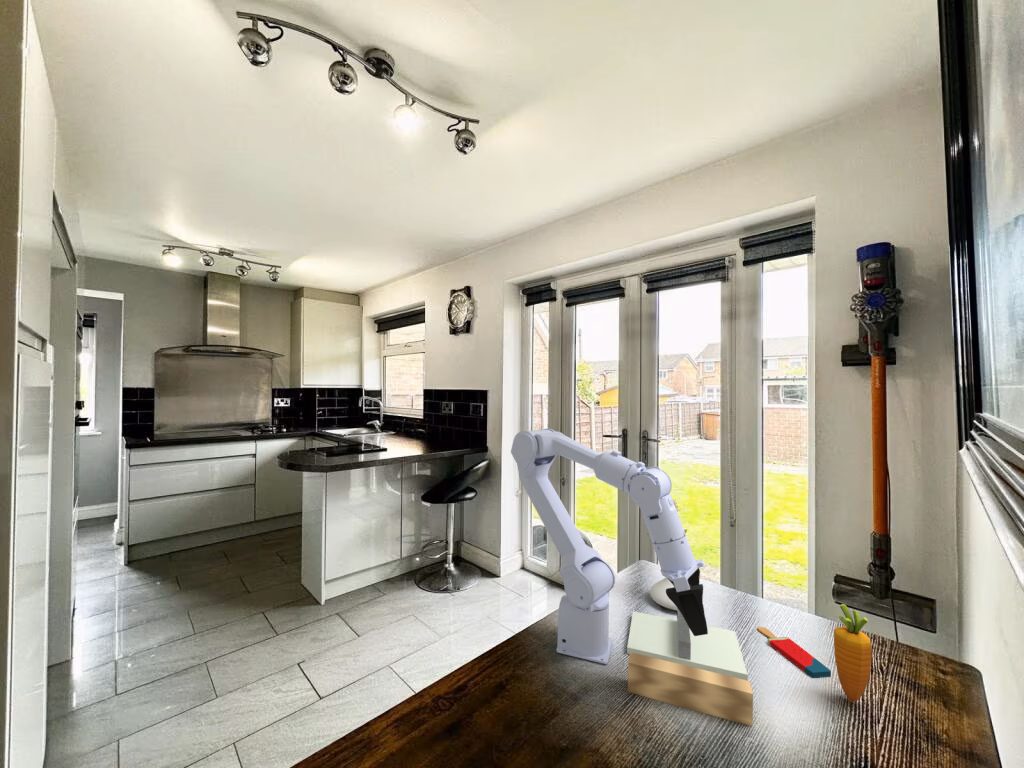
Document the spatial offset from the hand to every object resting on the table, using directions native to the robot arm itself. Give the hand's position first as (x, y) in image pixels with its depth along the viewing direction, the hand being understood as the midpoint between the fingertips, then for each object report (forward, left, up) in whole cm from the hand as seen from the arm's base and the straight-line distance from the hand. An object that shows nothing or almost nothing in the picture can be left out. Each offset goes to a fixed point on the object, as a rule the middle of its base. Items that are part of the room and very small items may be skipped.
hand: (699, 624), depth 68 cm
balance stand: (-2, +15, -12) cm, 19 cm away
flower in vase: (-4, +32, -12) cm, 34 cm away
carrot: (+23, +9, -12) cm, 27 cm away
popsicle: (+17, +20, -13) cm, 30 cm away
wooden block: (-2, -1, -12) cm, 12 cm away
